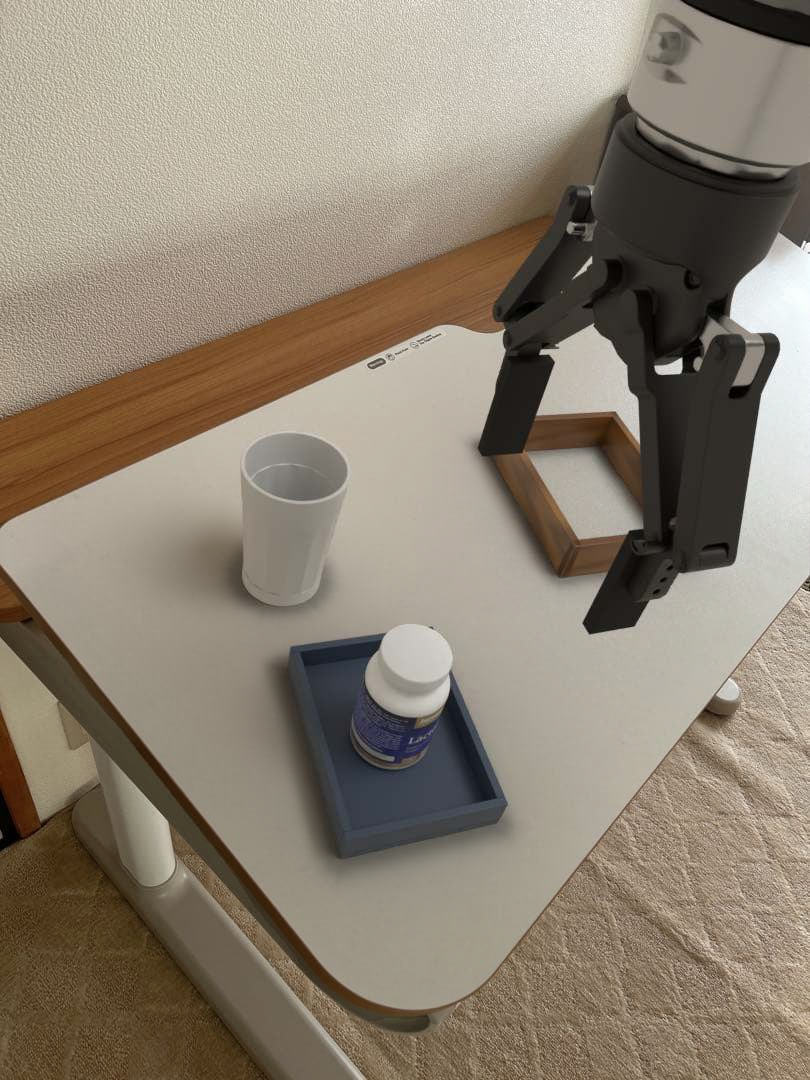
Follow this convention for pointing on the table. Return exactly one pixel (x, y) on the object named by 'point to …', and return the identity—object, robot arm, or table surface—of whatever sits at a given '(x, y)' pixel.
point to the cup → (289, 513)
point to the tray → (381, 794)
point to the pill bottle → (402, 697)
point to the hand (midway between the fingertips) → (549, 530)
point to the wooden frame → (541, 506)
